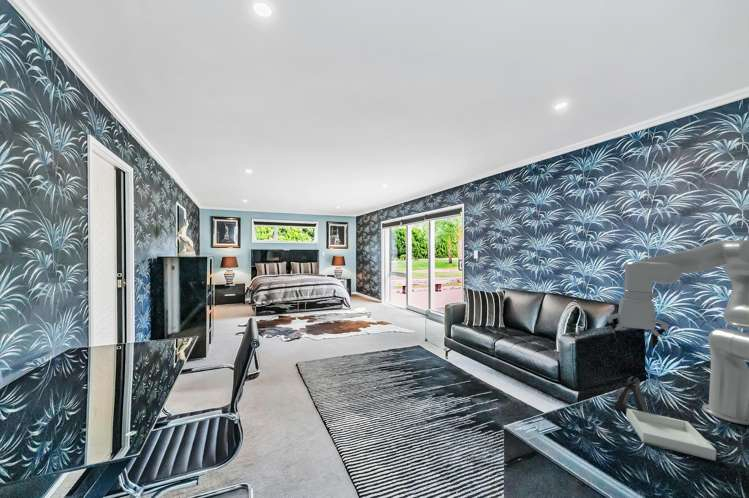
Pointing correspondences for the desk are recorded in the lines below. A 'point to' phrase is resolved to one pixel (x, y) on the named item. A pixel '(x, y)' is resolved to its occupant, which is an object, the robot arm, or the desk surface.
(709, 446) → the tray
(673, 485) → the desk surface
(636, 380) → the phone stand
